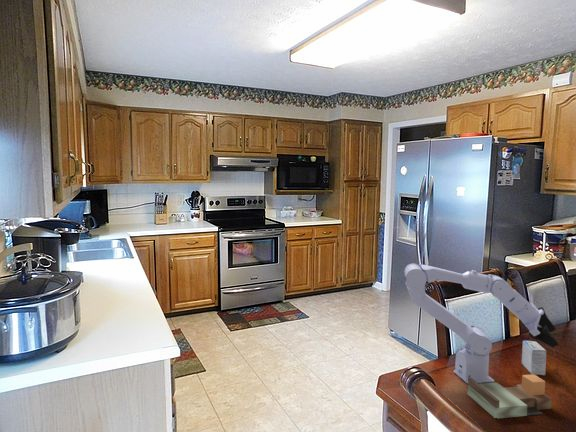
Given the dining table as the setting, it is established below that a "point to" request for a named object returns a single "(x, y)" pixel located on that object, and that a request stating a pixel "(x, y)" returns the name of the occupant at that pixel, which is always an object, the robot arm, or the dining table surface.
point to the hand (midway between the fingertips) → (554, 337)
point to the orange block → (533, 385)
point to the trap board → (507, 400)
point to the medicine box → (534, 357)
